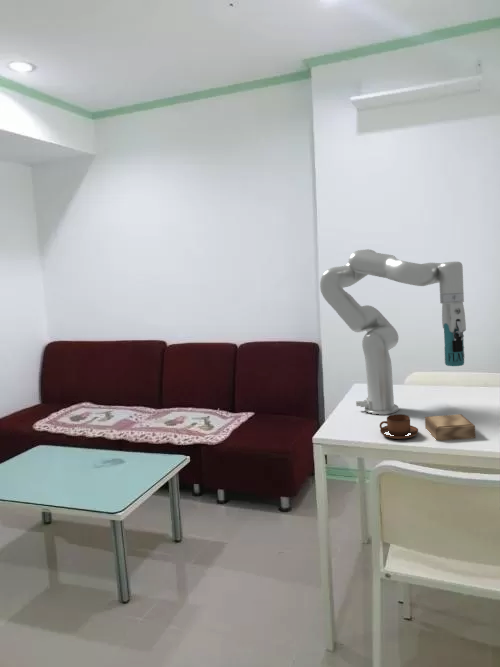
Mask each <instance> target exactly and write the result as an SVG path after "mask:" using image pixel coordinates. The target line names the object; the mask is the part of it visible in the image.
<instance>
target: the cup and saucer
mask: <svg viewBox="0 0 500 667" xmlns="http://www.w3.org/2000/svg"><path fill="white" fill-rule="evenodd" d="M383 424H386V426H383V427H382V425H383ZM379 428H380V430H379V431H380V433H381V434H382V436H384V437H386V438H388V437H389V439H395V440H405V439H406V440H407V439H410V438H413V437H414V436H416V435H417V434H418V433H419V428H418V427H416V426H413V425H411V417H410V416H409V415H407V414H403V413H402V414H399V413H398V414H397V413H394V414H389V415H387V416H386V420H384V421H381V422H380V423H379ZM388 431H389V433H390V434H391V435H394V436H390V435H386V434H384V433H385V432H388ZM408 433H411V435H409V436H405V435H407V434H408Z"/></svg>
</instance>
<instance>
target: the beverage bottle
mask: <svg viewBox="0 0 500 667" xmlns="http://www.w3.org/2000/svg"><path fill="white" fill-rule="evenodd" d="M455 331H458V329H455ZM456 334H457V333H455V336H456ZM443 335H444V336H443V337H444V338H443V339H444V364H445V366H447V367H459V366H464V364H465V351H464V350H465V347H464V342H465V341H464V339H463V340H462V343H463V351H462V352H453V347H452V341H453V335H452V332H450V331H449V326H448V324H447V323H445V324H444V329H443ZM462 337H463V338H464V337H465V336H464V334H463V336H462Z"/></svg>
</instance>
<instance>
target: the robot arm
mask: <svg viewBox="0 0 500 667" xmlns="http://www.w3.org/2000/svg"><path fill="white" fill-rule="evenodd" d="M463 268H464V267H463V263H462V262H460V261H448V262H425V263H418V262H417V263H416V262H411V261H410V262H409V261H405V260H400V259H398V258H397V257H396V256H395V255H392V254H387V253H380V252H376V251H375V250H372V249H369V248H368V249H359V250H358V249H357V250H355V251H353V252H352V253H351V254H350V255H349V258H348V263H346V264H345V265H341V266H334V267H330V268H328V269H326V270H325V271H324V272H323V274H321V277H320V281H319V289H320V292H321V295H322V297H323V298H324V301H326V302H327V303H328V305H329V306H331V308H332V309H333V310H334V311H335V312H336V313H337V315H338V316H339V317H340V318H341V319H342V321H343V322H344V323H345V324H346V325H347V326H348V328H349V329H351V331H353V332H355V333H363V332H366V333H365V334H364V336H363V337H362V343H361V344H362V345H361V346H362V350H363V355H364V361H365V371H366V372H365V373H366V387H367V388H366V389H367V397H365V398H366V399H364V400H358V401H355V406H356V407H360V408H364V412H366V413H367V412H368V414H370V413H372V414H371V415H376V414H379V416H380V415H381V416H382V415H384V416H385V415H393V414H396V413H397V412H398V411H399V406H398V405H397V404H396V403H395V401H394V400H395V399H394V383H393V382H394V381H393V369H392V366H393V365H392V361H391V360H392V359H391V356H390V352H389V350H392V349H394V347H396V346H397V344H398V342H399V334H398V332H397V330H396V328H395V327H394V326H393V325H392V324H391V323H390V321H389V320H388V319H387V318H386V317H385V316H384V315H383V314H382V312H380V311H379V310H378V309H377V307H375V306H373V305H366V304H365V305H361V304H359V302H357V300H356V299H355V298H354V297H353V296H352V295H351V294H350V293H348V292H347V291H346V290H344V288H347V287H351V286H353V285H355V284H357V282H359V281H361V280H362V279H364V278H365V277H367V276H368V275H369V276H374V277H378V278H383V279H384V278H385V279H387V280H390V281H395V282H396V283H401V284H406V285H411V286H416V287H427V286H430V285H433V284H439V301H440V303H439V304H441V306H442V307H441V323H442V329H443V330H444V324H445V323H447V324H448V326H449V331H450V332H452V335H453V341H452V347H453V352H462V351H463V345H464V342H463V343H462V340H464V337H462V336H463V335H464V332H466V330H467V328H466V327H467V323H466V322H467V321H466V313H465V306H464V302H465V296H464V294H465V293H464V269H463ZM455 329H458V331H455ZM455 333H457V334H456V336H455Z"/></svg>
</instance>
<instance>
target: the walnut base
mask: <svg viewBox="0 0 500 667" xmlns="http://www.w3.org/2000/svg"><path fill="white" fill-rule="evenodd" d="M424 426H425V430H426V429H427V430H428V431H429V432H430V433H431V434H430V433H429V432H428V431H427V430H426V431H427V432H428V433H429V434H430V435H431V437H432V438H433V437H434V438H435V439H436V440H441V441H451V440H452V441H453V440H466V439H476V425H475V424H474V423H473V422H471V421H470V420H469V419H468V418H466V417H465V416H464V415H463V414H462V413H461V414H448V415H447V414H446V415H445V414H444V415H433V416H424ZM434 438H433V439H434ZM435 439H434V440H435ZM436 440H435V441H436Z"/></svg>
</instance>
